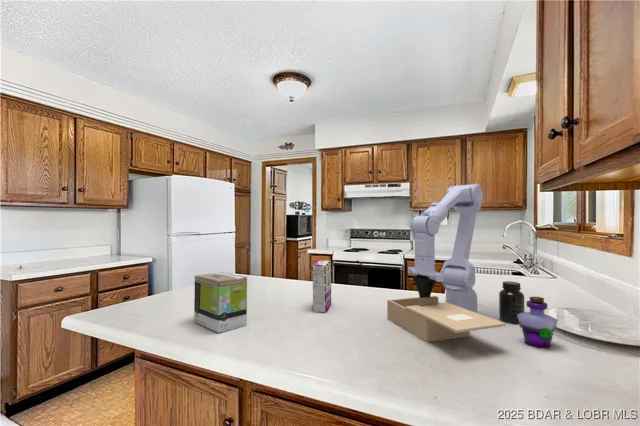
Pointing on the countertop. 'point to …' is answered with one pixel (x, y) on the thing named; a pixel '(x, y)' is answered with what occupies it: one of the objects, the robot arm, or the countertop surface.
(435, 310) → the mailer lid
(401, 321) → the mailer box
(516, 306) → the supplement bottle
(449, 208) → the robot arm
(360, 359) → the countertop surface
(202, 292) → the tea box
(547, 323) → the potion bottle
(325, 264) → the candy bar box
